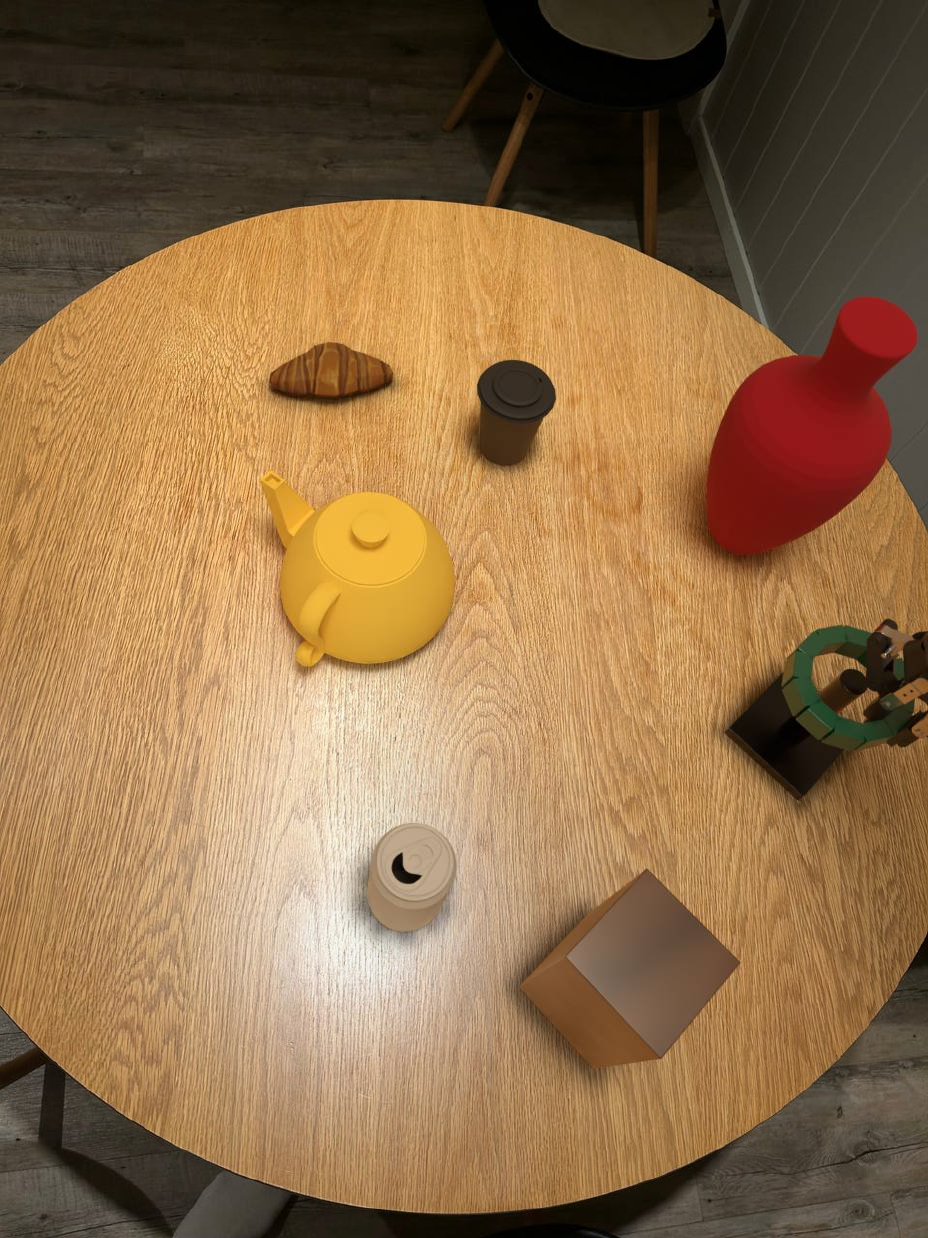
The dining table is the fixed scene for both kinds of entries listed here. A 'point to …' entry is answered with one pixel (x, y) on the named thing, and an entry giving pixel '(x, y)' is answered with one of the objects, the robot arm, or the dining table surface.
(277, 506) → the teapot
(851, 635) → the ring
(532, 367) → the coffee cup
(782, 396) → the vase
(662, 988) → the brown rectangular block
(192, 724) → the dining table surface
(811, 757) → the post
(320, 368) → the croissant
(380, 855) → the beverage can
